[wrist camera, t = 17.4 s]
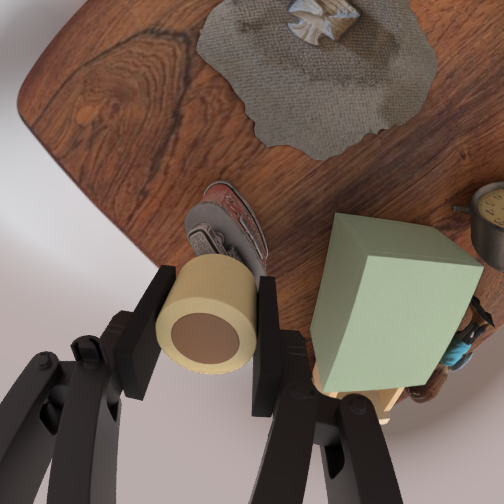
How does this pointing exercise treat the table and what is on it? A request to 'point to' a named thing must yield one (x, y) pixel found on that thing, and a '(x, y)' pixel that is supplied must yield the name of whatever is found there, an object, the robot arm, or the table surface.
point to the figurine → (453, 354)
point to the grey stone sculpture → (320, 67)
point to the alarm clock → (487, 223)
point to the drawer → (379, 398)
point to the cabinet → (388, 303)
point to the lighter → (227, 228)
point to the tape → (210, 316)
